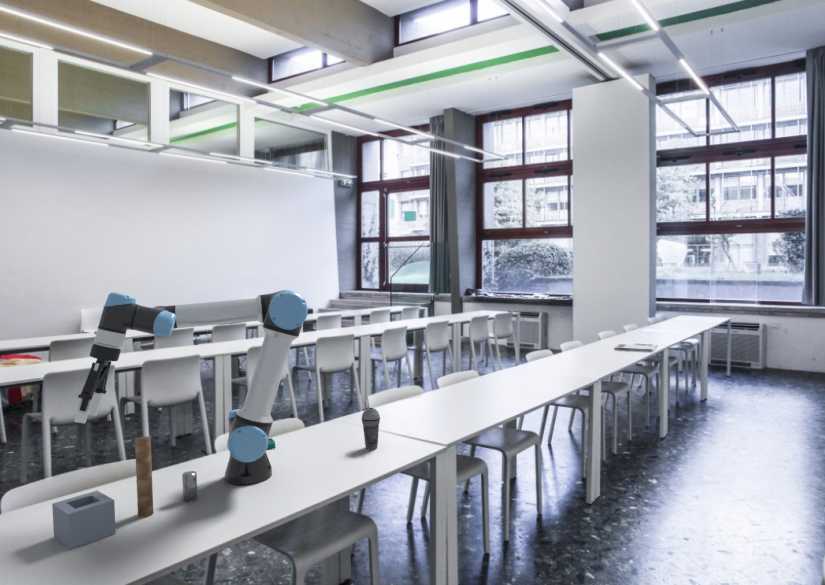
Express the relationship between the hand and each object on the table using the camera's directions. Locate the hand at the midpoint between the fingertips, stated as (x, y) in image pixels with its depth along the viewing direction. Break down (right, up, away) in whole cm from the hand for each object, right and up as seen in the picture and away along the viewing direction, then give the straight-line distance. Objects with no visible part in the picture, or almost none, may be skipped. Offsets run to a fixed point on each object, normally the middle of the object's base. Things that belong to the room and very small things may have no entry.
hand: (85, 418), depth 160 cm
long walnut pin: (+17, -28, 0) cm, 32 cm away
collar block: (+7, -28, -12) cm, 31 cm away
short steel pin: (+26, -27, +11) cm, 39 cm away
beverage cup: (+77, -25, +57) cm, 99 cm away
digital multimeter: (+32, -26, +60) cm, 73 cm away
